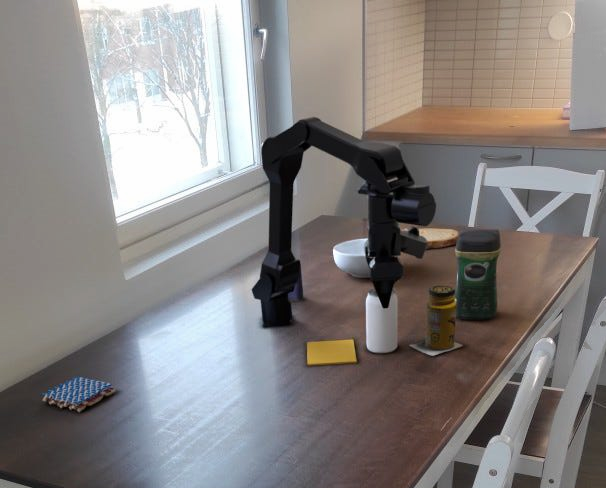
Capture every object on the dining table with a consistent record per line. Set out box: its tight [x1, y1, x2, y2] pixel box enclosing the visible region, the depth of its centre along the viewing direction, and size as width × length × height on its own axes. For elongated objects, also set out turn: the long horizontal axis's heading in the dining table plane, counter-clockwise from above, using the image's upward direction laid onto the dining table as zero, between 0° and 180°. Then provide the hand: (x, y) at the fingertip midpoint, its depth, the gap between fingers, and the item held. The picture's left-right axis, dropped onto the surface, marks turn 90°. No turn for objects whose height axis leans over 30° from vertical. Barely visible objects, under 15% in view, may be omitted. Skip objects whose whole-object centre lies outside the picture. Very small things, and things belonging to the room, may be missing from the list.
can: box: [365, 287, 399, 355], centre depth 166 cm, size 6×6×12 cm
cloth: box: [306, 339, 358, 367], centre depth 169 cm, size 10×12×1 cm
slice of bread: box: [400, 227, 460, 250], centre depth 231 cm, size 18×18×4 cm
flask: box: [288, 262, 304, 302], centre depth 197 cm, size 9×3×11 cm, turn 71°
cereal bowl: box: [332, 238, 399, 279], centre depth 210 cm, size 17×17×7 cm
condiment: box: [409, 284, 464, 357], centre depth 165 cm, size 7×8×12 cm
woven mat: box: [41, 376, 116, 413], centre depth 158 cm, size 10×11×2 cm
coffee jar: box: [455, 228, 502, 321], centre depth 177 cm, size 10×8×19 cm
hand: (383, 300), depth 163 cm, fingers open, 9 cm apart
